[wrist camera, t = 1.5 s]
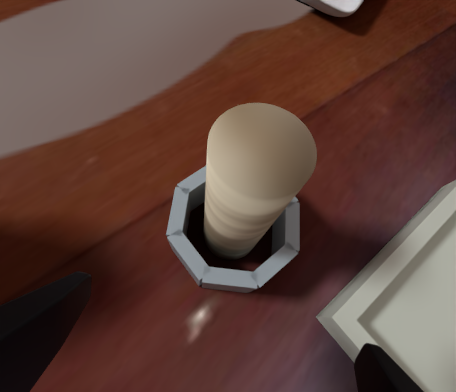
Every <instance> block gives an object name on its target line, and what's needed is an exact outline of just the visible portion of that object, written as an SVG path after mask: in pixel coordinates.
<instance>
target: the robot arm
mask: <svg viewBox="0 0 456 392" xmlns="http://www.w3.org/2000/svg"><path fill="white" fill-rule="evenodd" d="M90 294H91V275H90V274H89V273H85V272H80V271H77V272H74V273H72V274H70V275H68V276H65V277H63V278H61V279H59V280H56V281H54V282H52V283H50V284H47V285H45V286H43V287H41V288H38V289H36V290H34V291H32V292H29V293H27V294H25V295H23V296H20V297H18V298H16V299H14V300H11V301H9V302H7V303H5V304H2V305H0V392H30V390H31V389H32V387H33V386H34V385H35V383H36V382H37V380H38V379H39V378H40V376H41V375H42V374H43V372H44V371H45V369H46V368H47V367H48V365H49V364H50V362H51V361H52V360H53V358H54V357H55V355H56V354H57V353H58V351H59V350H60V348H61V347H62V345H63V343H64V342H65V340H66V339H67V337H68V335H69V333H70V332H71V330H72V328H73V326H74V325H75V323H76V321H77V320H78V318H79V316H80V314H81V313H82V311H83V309H84V308H85V306H86V304H87V302H88V300H89V298H90ZM354 369H355V376H356V382H357V388H358V392H424V391H423V390H422V389H421V388H420V387H419V386H418V385H417V384H416V383H415V382H414V381H413V380H412V379H411V378H410V377H409V376H408V375H407V374H406V372H405V371H404V370H403V369H402V368H401V367H400V366H399V365H398V364H397V363H396V362H395V361H394V360H393V359H392V358H391V357H390V356H389V355H388V354H387V353H386V352H385V351H384V350H383V349H382V348H381V347H380V346H378V345H375V344H371V343H365V344H364V345H363V347H362V348H361V350H360V352H359V354H358V355H357V357H356V359H355V362H354Z"/></svg>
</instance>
